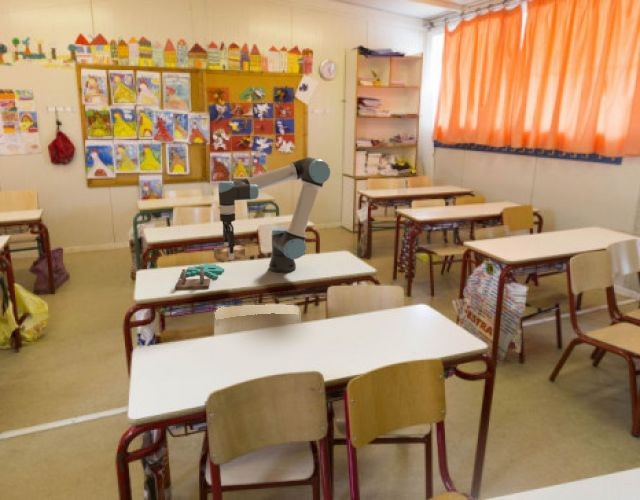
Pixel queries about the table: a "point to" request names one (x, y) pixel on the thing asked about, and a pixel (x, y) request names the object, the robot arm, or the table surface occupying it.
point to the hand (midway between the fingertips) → (229, 256)
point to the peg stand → (192, 282)
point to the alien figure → (205, 270)
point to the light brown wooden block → (222, 253)
